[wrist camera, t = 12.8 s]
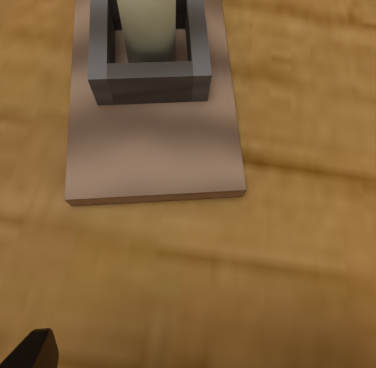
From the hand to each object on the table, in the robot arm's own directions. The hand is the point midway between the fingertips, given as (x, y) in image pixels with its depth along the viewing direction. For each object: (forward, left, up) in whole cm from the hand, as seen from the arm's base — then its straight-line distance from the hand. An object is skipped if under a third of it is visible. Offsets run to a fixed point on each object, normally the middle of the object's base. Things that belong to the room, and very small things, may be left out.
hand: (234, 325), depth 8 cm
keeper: (+5, +18, -14) cm, 23 cm away
